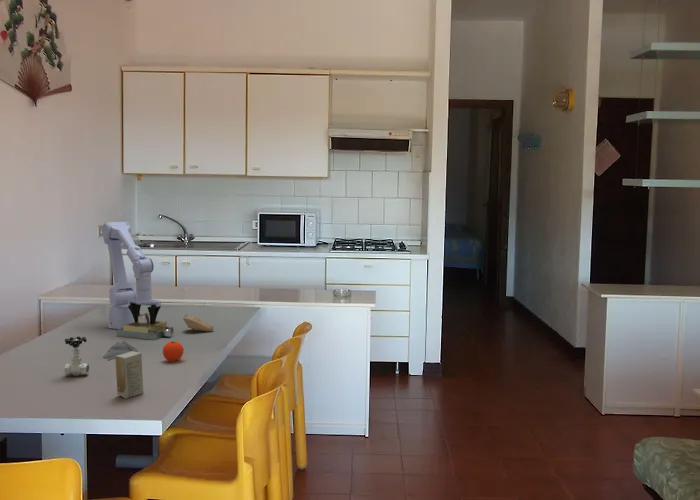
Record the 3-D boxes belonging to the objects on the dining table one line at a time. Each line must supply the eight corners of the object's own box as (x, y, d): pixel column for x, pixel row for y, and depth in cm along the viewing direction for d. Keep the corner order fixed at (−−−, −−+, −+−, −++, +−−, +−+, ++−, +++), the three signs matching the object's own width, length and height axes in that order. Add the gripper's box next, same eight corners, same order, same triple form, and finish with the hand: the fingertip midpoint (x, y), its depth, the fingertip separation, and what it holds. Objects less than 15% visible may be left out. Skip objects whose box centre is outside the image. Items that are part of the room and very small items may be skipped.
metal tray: (116, 335, 269) (116, 324, 269) (136, 329, 280) (136, 318, 280) (161, 340, 262) (160, 329, 261) (179, 333, 273) (179, 322, 272)
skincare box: (134, 390, 203) (133, 350, 201) (144, 393, 200) (142, 352, 199) (116, 396, 197) (114, 355, 196) (125, 399, 195) (124, 357, 194)
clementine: (167, 357, 239) (166, 337, 238) (187, 357, 239) (186, 337, 238) (160, 363, 231) (159, 343, 230) (180, 364, 231) (180, 343, 230)
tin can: (135, 329, 270) (135, 313, 269) (144, 326, 274) (143, 311, 273) (144, 330, 268) (144, 314, 267) (152, 328, 272) (152, 312, 271)
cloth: (122, 363, 233) (122, 356, 233) (84, 362, 235) (84, 355, 234) (152, 344, 259) (151, 338, 259) (117, 343, 260) (117, 337, 260)
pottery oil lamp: (211, 334, 273) (210, 316, 272) (181, 334, 273) (180, 316, 272) (215, 329, 281) (215, 312, 281) (186, 329, 281) (186, 312, 281)
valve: (69, 372, 220) (68, 336, 219) (90, 372, 221) (89, 336, 219) (63, 379, 214) (61, 341, 212) (84, 378, 214) (83, 341, 213)
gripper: (122, 289, 268) (123, 323, 270) (152, 292, 263) (153, 326, 265) (133, 286, 275) (135, 319, 277) (163, 289, 270) (164, 322, 271)
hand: (144, 322), depth 271 cm, fingers open, 7 cm apart
